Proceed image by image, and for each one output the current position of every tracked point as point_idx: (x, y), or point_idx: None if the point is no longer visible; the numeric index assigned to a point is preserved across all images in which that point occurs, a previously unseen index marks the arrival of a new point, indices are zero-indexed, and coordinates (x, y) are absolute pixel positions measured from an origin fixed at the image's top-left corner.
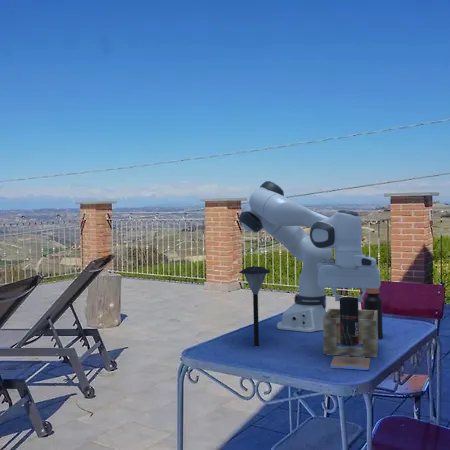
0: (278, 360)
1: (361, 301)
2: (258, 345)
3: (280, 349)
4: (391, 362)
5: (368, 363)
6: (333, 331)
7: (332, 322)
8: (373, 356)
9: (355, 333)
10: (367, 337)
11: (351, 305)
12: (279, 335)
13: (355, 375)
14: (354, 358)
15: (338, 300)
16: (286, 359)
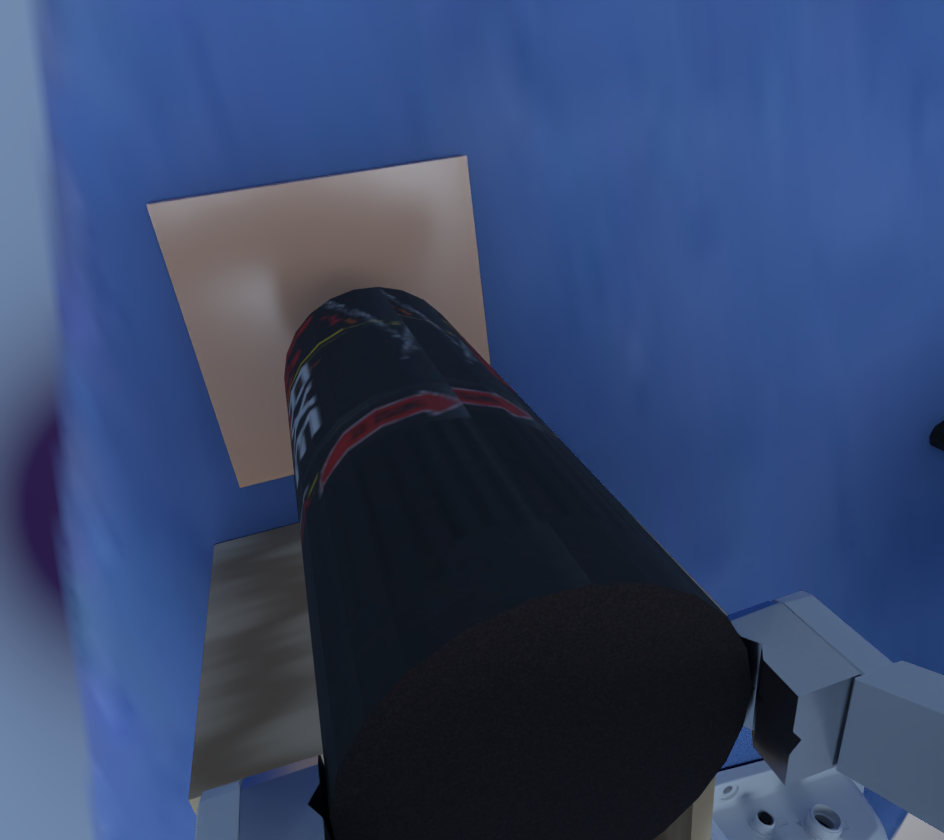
0: (817, 205)
1: (228, 784)
2: (937, 434)
3: (820, 436)
4: (69, 504)
5: (201, 347)
6: None
7: None
8: (236, 545)
9: (307, 372)
10: (283, 628)
11: (423, 540)
12: None
13: (212, 29)
14: None
15: (746, 613)
16: (773, 250)
